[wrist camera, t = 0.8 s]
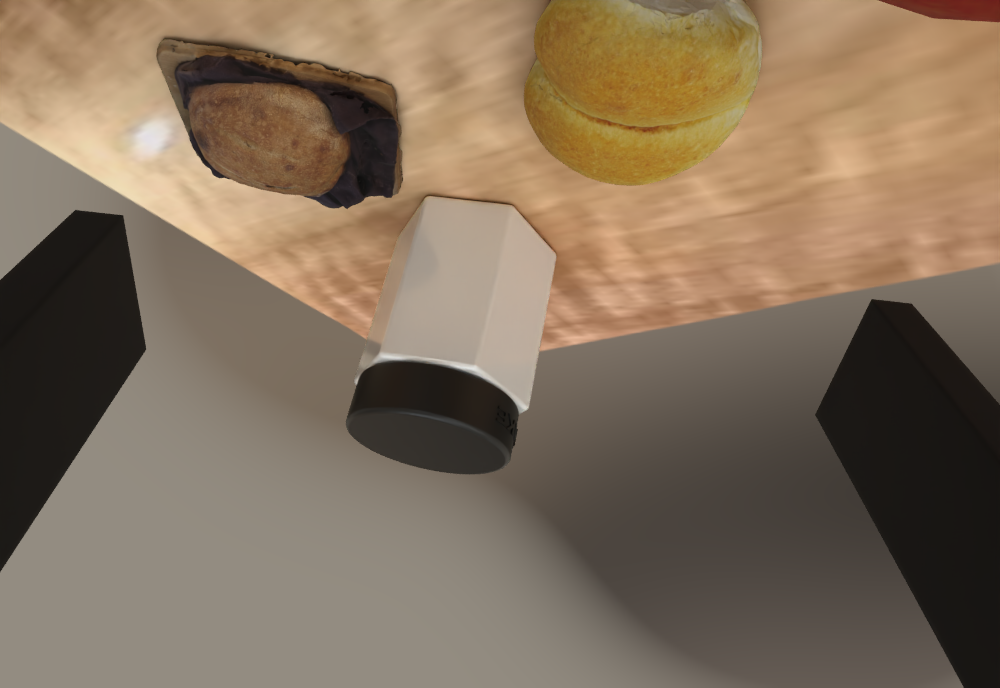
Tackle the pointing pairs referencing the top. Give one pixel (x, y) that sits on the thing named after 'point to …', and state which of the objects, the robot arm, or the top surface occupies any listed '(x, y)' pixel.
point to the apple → (953, 9)
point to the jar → (454, 338)
